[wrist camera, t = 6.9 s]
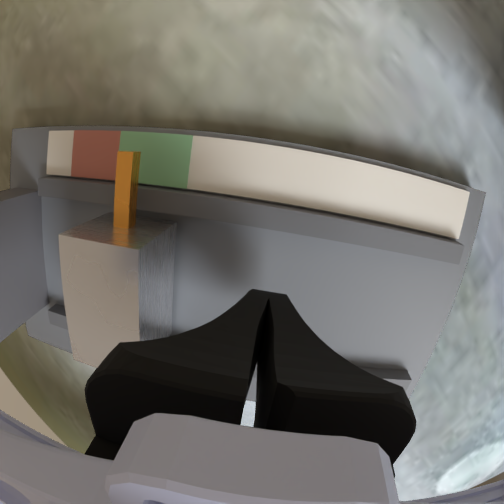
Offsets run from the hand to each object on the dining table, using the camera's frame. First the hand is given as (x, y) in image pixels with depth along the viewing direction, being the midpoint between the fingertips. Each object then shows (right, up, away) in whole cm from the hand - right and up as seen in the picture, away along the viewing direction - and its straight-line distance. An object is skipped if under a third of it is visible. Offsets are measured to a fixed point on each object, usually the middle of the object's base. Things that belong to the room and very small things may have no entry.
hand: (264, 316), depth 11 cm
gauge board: (-2, +1, +3) cm, 4 cm away
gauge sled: (-5, +3, +1) cm, 6 cm away
